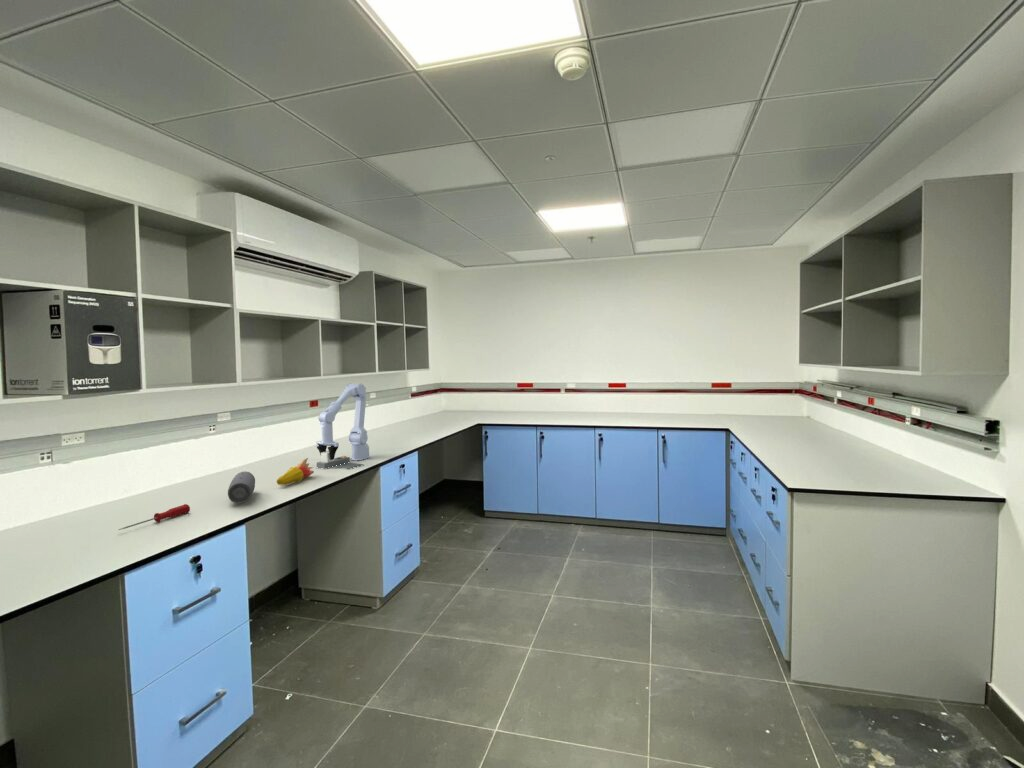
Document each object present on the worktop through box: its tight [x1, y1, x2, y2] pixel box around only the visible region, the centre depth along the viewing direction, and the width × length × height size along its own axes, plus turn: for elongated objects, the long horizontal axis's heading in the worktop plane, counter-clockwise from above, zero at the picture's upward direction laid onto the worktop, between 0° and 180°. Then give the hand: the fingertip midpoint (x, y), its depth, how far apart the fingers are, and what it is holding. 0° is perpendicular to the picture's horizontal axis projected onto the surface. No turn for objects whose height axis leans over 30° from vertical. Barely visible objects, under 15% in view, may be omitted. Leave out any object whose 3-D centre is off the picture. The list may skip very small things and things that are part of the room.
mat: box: [332, 462, 364, 470], centre depth 268 cm, size 11×11×1 cm
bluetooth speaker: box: [227, 470, 256, 504], centre depth 206 cm, size 23×9×10 cm, turn 24°
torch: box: [276, 457, 315, 486], centre depth 235 cm, size 8×8×25 cm
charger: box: [320, 450, 335, 462], centre depth 268 cm, size 5×4×6 cm
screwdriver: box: [117, 503, 191, 531], centre depth 177 cm, size 4×25×4 cm, turn 162°
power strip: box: [316, 455, 351, 469], centre depth 272 cm, size 18×6×4 cm, turn 154°
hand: (327, 458), depth 268 cm, fingers open, 6 cm apart
